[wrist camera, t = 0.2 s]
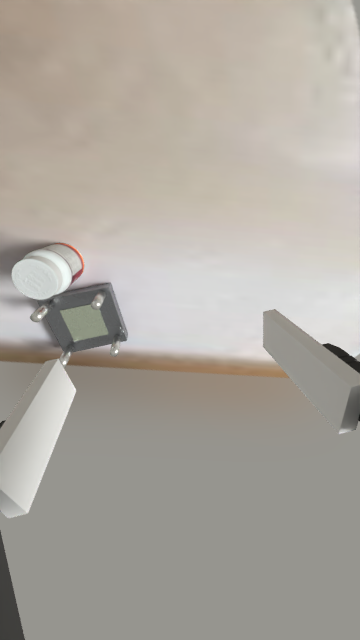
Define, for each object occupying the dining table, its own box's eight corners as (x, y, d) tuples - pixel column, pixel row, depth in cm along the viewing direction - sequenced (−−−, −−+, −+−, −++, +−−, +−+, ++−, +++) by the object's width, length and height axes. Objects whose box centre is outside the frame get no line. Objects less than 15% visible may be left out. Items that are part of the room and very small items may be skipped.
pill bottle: (61, 285, 38) (29, 311, 28) (37, 251, 35) (-8, 267, 25) (92, 270, 37) (72, 292, 27) (71, 235, 34) (40, 245, 24)
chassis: (43, 296, 38) (21, 314, 31) (110, 282, 39) (103, 297, 32) (69, 346, 43) (54, 371, 36) (127, 333, 44) (124, 355, 37)
